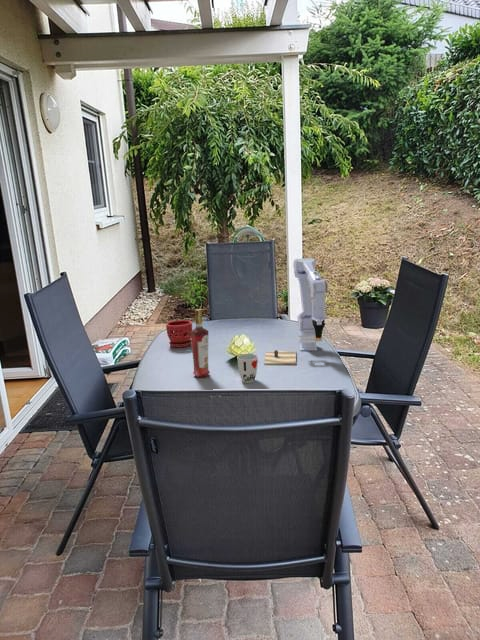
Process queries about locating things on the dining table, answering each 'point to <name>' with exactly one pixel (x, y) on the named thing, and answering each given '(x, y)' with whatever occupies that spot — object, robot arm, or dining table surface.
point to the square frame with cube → (309, 338)
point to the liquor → (200, 347)
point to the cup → (247, 367)
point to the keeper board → (280, 358)
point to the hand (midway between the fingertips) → (318, 336)
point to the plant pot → (179, 333)
